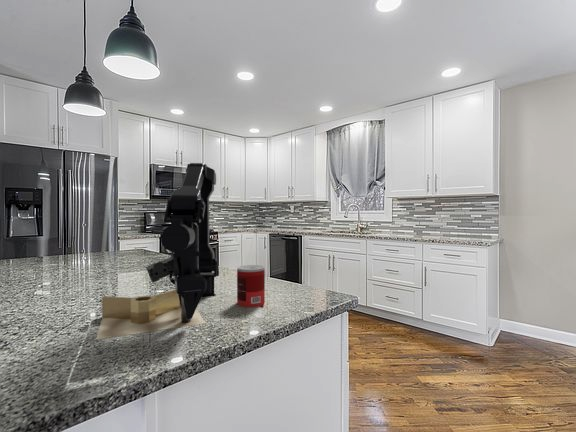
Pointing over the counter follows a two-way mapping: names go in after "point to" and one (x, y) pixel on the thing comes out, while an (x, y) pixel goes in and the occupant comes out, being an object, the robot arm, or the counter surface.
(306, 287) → the counter surface
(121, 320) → the mounting board
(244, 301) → the canned food
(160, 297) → the spoked octagonal hub
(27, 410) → the counter surface
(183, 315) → the pin
